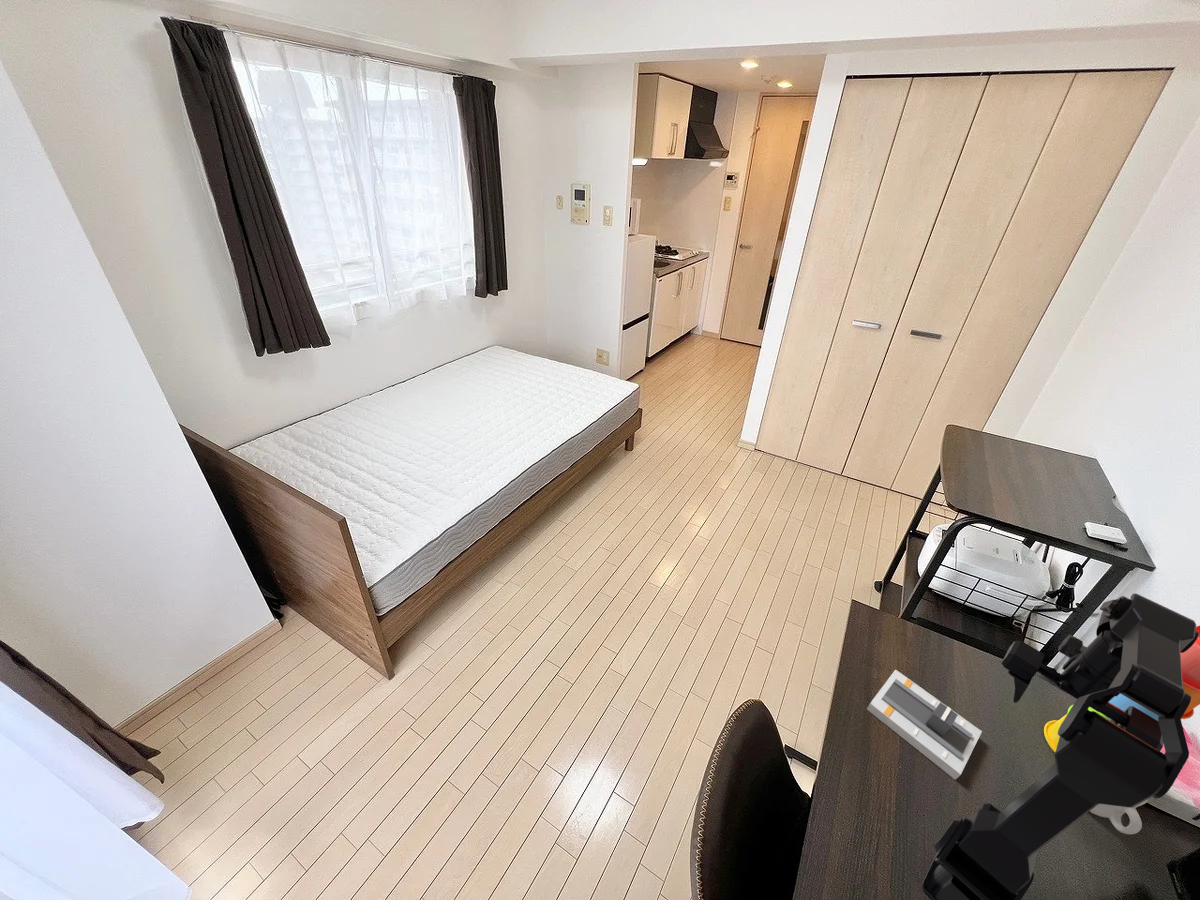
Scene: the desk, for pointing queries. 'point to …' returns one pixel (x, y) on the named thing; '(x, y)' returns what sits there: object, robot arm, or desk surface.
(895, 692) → the console board
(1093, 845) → the desk surface
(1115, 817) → the cup
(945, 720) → the fader knob
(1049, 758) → the desk surface
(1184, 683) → the stacking cups
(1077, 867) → the desk surface
